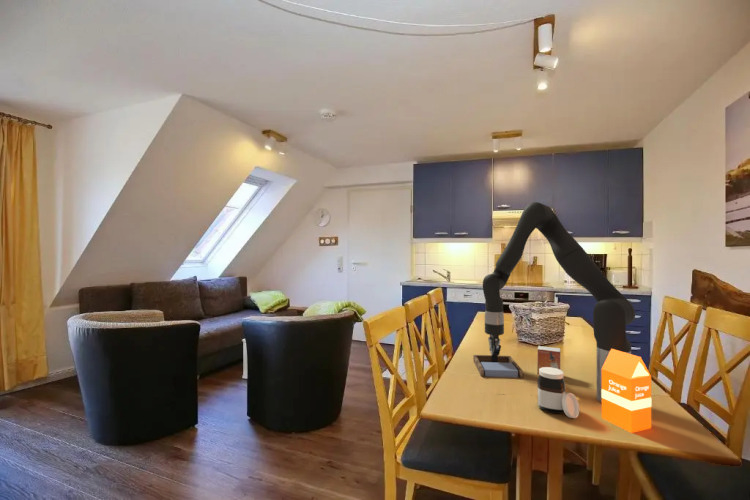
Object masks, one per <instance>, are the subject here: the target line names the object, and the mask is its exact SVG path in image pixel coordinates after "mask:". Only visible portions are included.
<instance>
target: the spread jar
mask: <svg viewBox="0 0 750 500" xmlns="http://www.w3.org/2000/svg"><path fill="white" fill-rule="evenodd" d="M564 376H565V373H564V371H563V370H561V368H560V369H557V368H552V367H542V368H540V369H539V374H538V378H537V407H538V408H540V409H541V410H542V411H545V412H547V413H551V414H561V413H564V414H565V415H566V417H568V418H569V419H577V418H578V417H579V415H580V405H579V401H578V399H577V397H576V395H575V394H574V393H571V392H566V383H565V382H566V381H565V379H564Z"/></svg>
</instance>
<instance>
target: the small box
mask: <svg viewBox="0 0 750 500" xmlns="http://www.w3.org/2000/svg"><path fill="white" fill-rule="evenodd" d="M536 355H537V362H536V363H537V367H536V368H537V372H536V373H537V375H540V374H539V369H540V368H542V367H552V368H557V369H560V370H561V348H559V347H552V346H551V347H549V346H543V345H542V346H541V345H538V347H537V354H536Z"/></svg>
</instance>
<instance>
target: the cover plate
mask: <svg viewBox="0 0 750 500" xmlns="http://www.w3.org/2000/svg"><path fill="white" fill-rule="evenodd" d="M481 365H482V367H483V369H484V375H485V376H492V377H491V378H503V377H518V370H517V369H516V368H515V366H514V365H513V364H512V363H499V362H481Z"/></svg>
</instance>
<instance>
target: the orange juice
mask: <svg viewBox="0 0 750 500" xmlns="http://www.w3.org/2000/svg"><path fill="white" fill-rule="evenodd" d="M601 419H603V420H605V421H606V422H609V423H611V424H613V425H615V426H617V427H619V428H621V429H623V430H625V431H627V432H629V433H631V434H632V433H636V432H641V431H645V430H649V429H652V375H651V374H650V372H649V369H648V368H647V366H646V363H644V361H643V359H642V356H638V355H635V354H632V353H631V354H628V353H625V352H622V351H618V350H615V349H611V350H610V352H609V355H608V357H607V359H606V361H605V363H604V365H603V367H602V403H601Z"/></svg>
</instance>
